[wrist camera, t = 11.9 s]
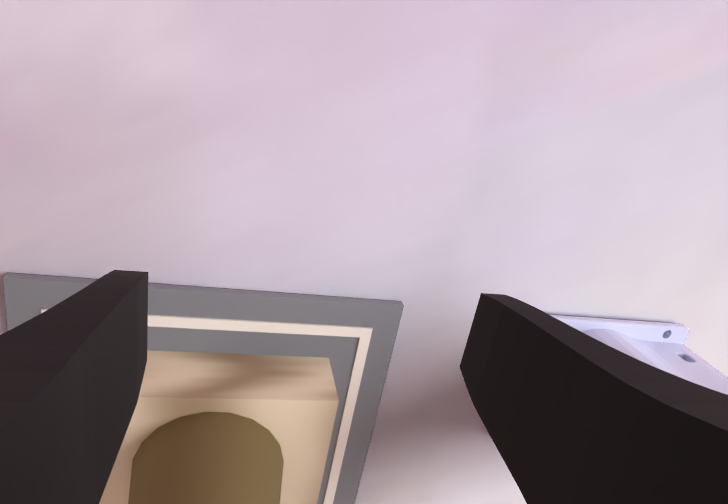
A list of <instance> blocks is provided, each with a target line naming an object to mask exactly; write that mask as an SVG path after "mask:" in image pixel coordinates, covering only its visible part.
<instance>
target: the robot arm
mask: <svg viewBox="0 0 728 504" xmlns="http://www.w3.org/2000/svg"><path fill="white" fill-rule="evenodd" d="M689 333H690V331H689V329H688V328H687V327H686V326H684V325H682V324H674V323H660V322H646V321H632V320H618V319H604V318H590V317H576V316H562V315H549V314H547V313H545V312H543V311H541V310H539V309H537V308H535V307H533V306H531V305H529V304H527V303H524V302H522V301H520V300H518V299H515V298H513V297H510V296H507V295H499V294H484V293H481V296H480V299H479V302H478V306H477V309H476V313H475V316H474V320H473V323H472V326H471V330H470V333H469V337H468V340H467V344H466V347H465V350H464V354H463V357H462V361H461V364H460V369H461V372H462V375H463V378H464V381H465V384H466V386H467V389H468V392H469V394H470V397H471V399H472V402H473V404H474V406H475V408H476V410H477V412H478V414H479V416H480V418H481V420H482V421H483V423H484V425H485V427H486V429H487V431H488V433H489V434H490V436H491V438H492V440H493V442H494V443H495V445H496V447H497V449H498V451H499V452H500V454H501V456H502V458H503V460H504V461H505V463H506V465H507V467H508V469H509V471H510V472H511V474H512V476H513V478H514V480H515V481H516V483H517V485H518V487H519V489H520V491H521V493H522V495H523V497H524V499H525V501H526V503H527V504H728V377H727V376H725V375H724V374H723V373H721V372H720V371H719V370H717V369H716V368H715V367H713V366H712V365H710V364H709V363H708V362H706V361H705V360H704V359H702V358H701V357H700V356H698V355H697V354H696V353H694V352H693V351H692V350H690V349H689V348H688V347H686V346H685V345H684V344H685V342H686V340H687V338H688V336H689ZM147 336H148V272H138V271H122V270H114V271H112V272H110V273H108V274H106V275H104V276H103V277H101V278H99V279H98V280H96V281H94V282H93V283H91V284H90V285H88V286H86V287H85V288H83V289H82V290H80V291H78V292H77V293H75V294H73V295H72V296H70V297H68V298H67V299H65V300H63V301H62V302H60V303H58V304H57V305H55V306H53V307H52V308H50V309H48V310H47V311H45V312H43V313H41V314H39V315H37V316H35V317H33V318H32V319H30V320H28V321H26V322H24V323H22V324H20V325H18V326H17V327H15V328H13V329H11V330H9V331H7V332H5V333H3V334H2V335H0V504H99V502H100V500H101V497H102V495H103V492H104V489H105V487H106V484H107V481H108V479H109V476H110V474H111V471H112V468H113V466H114V463H115V461H116V458H117V455H118V453H119V450H120V447H121V445H122V442H123V440H124V437H125V434H126V432H127V429H128V426H129V424H130V421H131V418H132V416H133V413H134V410H135V407H136V405H137V402H138V398H139V393H140V389H141V385H142V381H143V376H144V372H145V367H146V363H147Z"/></svg>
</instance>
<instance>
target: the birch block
mask: <svg viewBox="0 0 728 504" xmlns="http://www.w3.org/2000/svg"><path fill="white" fill-rule="evenodd" d="M338 402H339V400H338V395H337V391H336V387H335V382H334V378H333V374H332V369H331V365H330V361H329V358H324V357H300V356H275V355H251V354H227V353H202V352H178V351H153V350H147V363H146V367H145V372H144V376H143V381H142V385H141V389H140V393H139V398H138V402H137V405H136V407H135V410H134V413H133V416H132V418H131V421H130V424H129V426H128V429H127V432H126V434H125V437H124V440H123V442H122V445H121V447H120V450H119V453H118V455H117V458H116V461H115V463H114V466H113V468H112V471H111V474H110V476H109V479H108V481H107V484H106V487H105V489H104V492H103V495H102V497H101V500H100V502H99V504H128V501H129V490H130V480H131V469H132V460H133V458H134V456H135V454H136V452H137V450H138V448H139V446H140V445H141V443H142V442H143V441H144V440H145V439H146V438H147V437H148V436H149V435H150V434H151V433H153V432H154V431H155V430H156V429H157V428H158V427H160V426H162V425H164V424H166V423H168V422H170V421H173V420H175V419H177V418H179V417H181V416H186V415H191V414H196V413H201V412H230V413H234V414H237V415H240V416H244V417H247V418H250V419H253V420H255V421H256V422H258V423H259V424H261V425H262V426H264V427H265V428H267V429H268V430H270V432H271V433H272V434H273V436H274V437H275V439H276V440H277V441H278V443H279V444H280V446H281V451H282V456H283V460H284V464H283V475H282V485H281V496H280V504H317V501H318V497H319V492H320V487H321V483H322V478H323V473H324V468H325V464H326V459H327V454H328V450H329V445H330V440H331V435H332V431H333V426H334V421H335V416H336V412H337V407H338Z"/></svg>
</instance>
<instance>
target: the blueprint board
mask: <svg viewBox="0 0 728 504" xmlns="http://www.w3.org/2000/svg"><path fill="white" fill-rule="evenodd" d="M96 280H98V279H87V278H73V277H60V276H46V275H32V274H19V273H7V274H6V275H5V276H4V277H3V285H4V297H5V308H6V320H7V331H9V330H11V329H13V328H15V327H17V326H18V325H20V324H22V323H24V322H26V321H28V320H30V319H32V318H33V317H35V316H37V315H39V314H41V313H43V312H45V311H47V310H48V309H50V308H52V307H53V306H55V305H57V304H58V303H60V302H62V301H63V300H65V299H67V298H68V297H70V296H72V295H73V294H75V293H77V292H78V291H80V290H82V289H83V288H85V287H86V286H88V285H90V284H91V283H93V282H94V281H96ZM403 307H404V305H403V304H402V302H401V301H388V300H375V299H361V298H347V297H334V296H320V295H306V294H293V293H279V292H265V291H251V290H238V289H224V288H210V287H197V286H183V285H169V284H156V283H148V336H147V350H153V351H178V352H202V353H227V354H251V355H275V356H300V357H324V358H329V361H330V365H331V369H332V374H333V378H334V382H335V387H336V391H337V395H338V400H339V402H338V407H337V412H336V416H335V421H334V426H333V431H332V435H331V440H330V445H329V450H328V454H327V459H326V464H325V468H324V473H323V478H322V483H321V487H320V492H319V497H318V501H317V504H354V503H355V499H356V495H357V491H358V487H359V483H360V479H361V475H362V471H363V467H364V463H365V459H366V455H367V451H368V447H369V443H370V439H371V435H372V431H373V427H374V423H375V419H376V415H377V411H378V407H379V403H380V399H381V395H382V391H383V387H384V383H385V379H386V375H387V371H388V367H389V363H390V359H391V355H392V351H393V347H394V343H395V339H396V335H397V331H398V327H399V323H400V319H401V315H402V311H403Z"/></svg>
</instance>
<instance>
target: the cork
mask: <svg viewBox="0 0 728 504" xmlns="http://www.w3.org/2000/svg"><path fill="white" fill-rule="evenodd" d="M283 464H284V460H283V456H282V451H281V446H280V444H279V443H278V441H277V440H276V439H275V437H274V436H273V434H272V433H271V432H270V430H268V429H267V428H265V427H264V426H262V425H261V424H259V423H258V422H256V421H255V420H253V419H250V418H247V417H244V416H240V415H237V414H234V413H230V412H201V413H196V414H191V415H186V416H181V417H179V418H177V419H175V420H173V421H170V422H168V423H166V424H164V425H162V426H160V427H158V428H157V429H156V430H155V431H154V432H153V433H151V434H150V435H149V436H148V437H147V438H146V439H145V440H144V441H143V442H142V443H141V445H140V446H139V448H138V450H137V452H136V454H135V456H134V458H133V460H132V469H131V480H130V490H129V501H128V504H280V496H281V485H282V475H283Z"/></svg>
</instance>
